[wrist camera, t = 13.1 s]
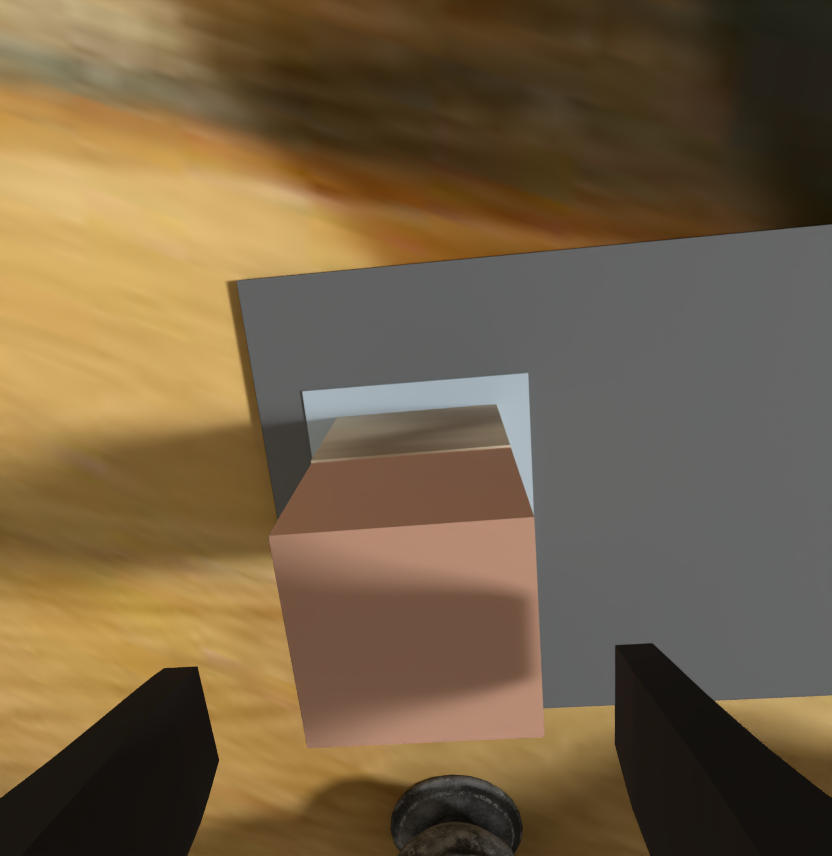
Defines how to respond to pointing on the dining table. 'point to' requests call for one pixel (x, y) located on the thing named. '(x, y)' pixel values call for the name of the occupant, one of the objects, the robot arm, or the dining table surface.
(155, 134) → the dining table surface
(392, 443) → the birch brick
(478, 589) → the terracotta brick
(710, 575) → the grey mat
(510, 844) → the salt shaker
